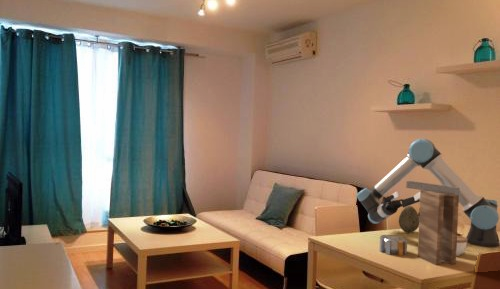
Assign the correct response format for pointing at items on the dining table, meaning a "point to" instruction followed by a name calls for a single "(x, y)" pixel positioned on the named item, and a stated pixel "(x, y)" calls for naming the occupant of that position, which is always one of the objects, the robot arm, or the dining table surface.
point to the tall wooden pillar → (438, 227)
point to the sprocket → (393, 245)
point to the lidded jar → (461, 245)
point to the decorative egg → (409, 219)
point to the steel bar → (433, 187)
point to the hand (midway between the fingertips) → (410, 193)
